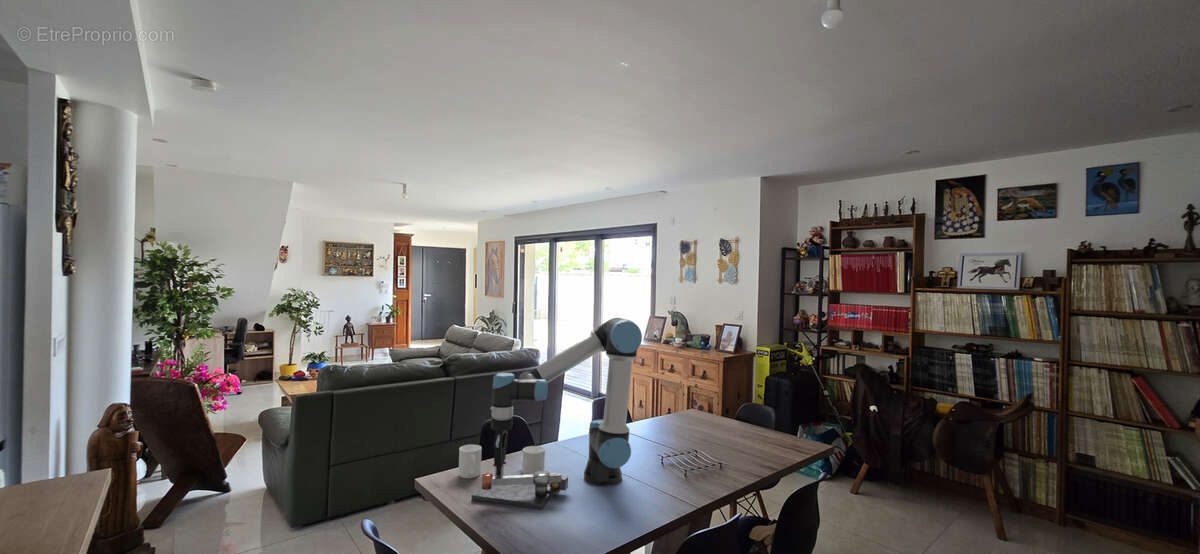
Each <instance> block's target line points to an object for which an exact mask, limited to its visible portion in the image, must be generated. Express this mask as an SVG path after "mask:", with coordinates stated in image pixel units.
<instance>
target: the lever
mask: <svg viewBox="0 0 1200 554" xmlns="http://www.w3.org/2000/svg"><path fill="white" fill-rule="evenodd" d="M561 476H563V475H562V473H561V472H549V471H546V470H544V471H537V472H535V473H533V474H527V475H524V474H514V475H512V474H511V475H503V476H495V475H493V474H492V473H491V472H487V473H486V472H484V473H483V474H481V487H482V489H484V490H489V489H491V488H492V486H502V485H518V484H534V485H537V486H545V485H549V483H554V482H561Z"/></svg>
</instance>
